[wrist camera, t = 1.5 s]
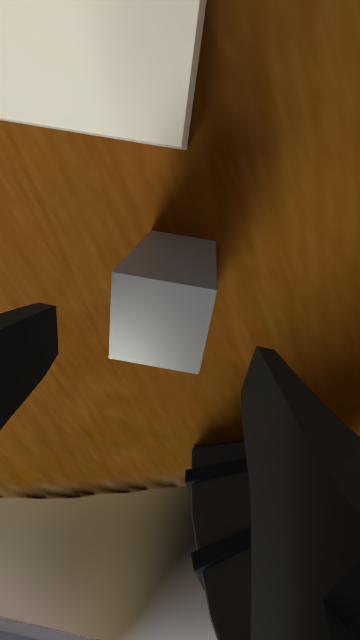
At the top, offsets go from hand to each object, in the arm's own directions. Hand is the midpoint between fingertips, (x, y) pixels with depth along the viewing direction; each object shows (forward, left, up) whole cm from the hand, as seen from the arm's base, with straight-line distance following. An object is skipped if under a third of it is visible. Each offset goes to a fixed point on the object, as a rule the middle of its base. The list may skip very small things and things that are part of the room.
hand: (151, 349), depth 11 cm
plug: (0, 0, -10) cm, 10 cm away
